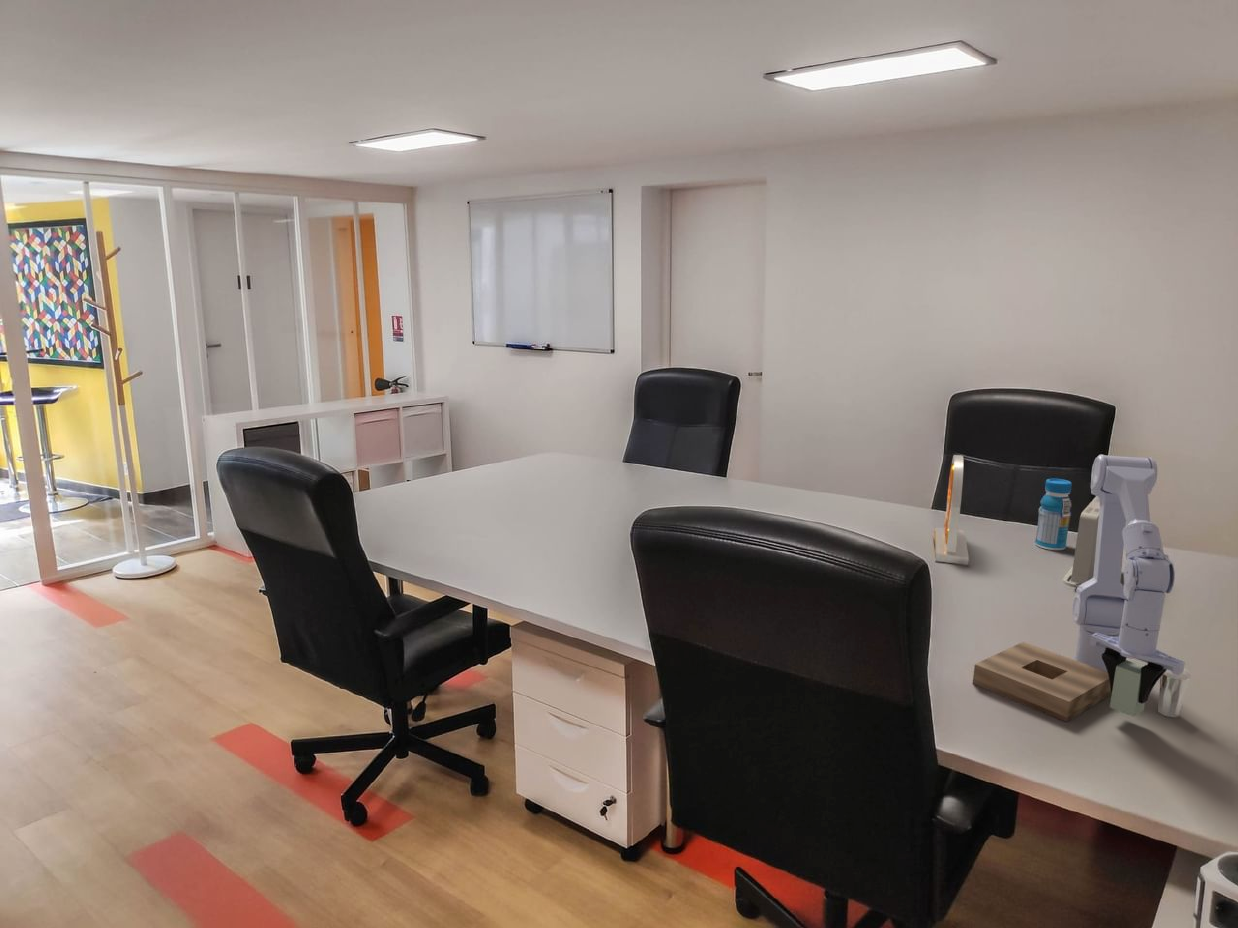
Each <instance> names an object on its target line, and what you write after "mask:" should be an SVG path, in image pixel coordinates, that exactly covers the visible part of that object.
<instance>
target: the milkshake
mask: <svg viewBox="0 0 1238 928" xmlns="http://www.w3.org/2000/svg"><path fill="white" fill-rule="evenodd" d="M1190 678H1191V674H1190V672H1189V671H1188V669H1186V668H1185V667H1184V670H1183V672H1182V673H1181V674H1179V675H1177V674H1174V673H1172V671H1170V670H1166V671H1165V672H1164V674H1163V675H1162V676H1161V677H1160V678H1159V693H1158V705H1157V713H1159V714H1160V715H1161V716H1165V717H1167V718H1171V719H1172V718H1178V717H1179V715H1180V713H1181V708H1182V706H1183V705H1182V704H1183V700H1184V697H1185V693H1186V690H1187V688H1188V684H1189V682H1190Z"/></svg>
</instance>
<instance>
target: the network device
mask: <svg viewBox="0 0 1238 928" xmlns="http://www.w3.org/2000/svg"><path fill="white" fill-rule="evenodd" d="M1099 509H1100V503H1099V497H1097V496H1095V497H1094V498H1093V499H1092V501H1090V502H1089V504H1088V505H1087V506H1086V507H1085V508H1084V509H1083V510H1082V512H1081V514H1080V517H1079V521H1078V522H1079V523H1078V529H1077V537H1076V543H1075V550H1074V556H1073V557H1074V558H1073V563H1072V564H1073V565H1072V566H1071V568H1069V569H1068V572H1067V573H1066V574H1065V575H1064V576H1063V578H1062V583H1063V584H1065V585H1067V586H1069V587H1074V588H1077V587H1078V586H1079V585H1081V584H1083V583H1085V582H1087V581H1088V580H1090V579H1092V578H1093V575H1094V564H1095V553H1096V542H1097V531H1098V520H1099ZM1070 578H1071V579H1070ZM1069 579H1070V581H1069Z"/></svg>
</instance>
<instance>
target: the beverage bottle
mask: <svg viewBox="0 0 1238 928" xmlns="http://www.w3.org/2000/svg"><path fill="white" fill-rule="evenodd" d="M1044 485H1045V487H1044V489H1045V494H1044V495H1043V496H1042V497H1041V500H1040V501H1039V502H1040V505H1041V506H1039V508H1038V518H1037V519H1038V521H1037V528H1036V536H1035V541H1034V543H1035V546H1037V547H1038V548H1041V549H1043V550H1049V551H1064V550H1065V549H1066V547H1067V539H1068V532H1069V527H1070V526H1069V525H1070V521H1071V519H1070V518H1071V516H1072V512H1071V508H1072V506H1073V504H1072V500H1071V497H1070V496H1069V495H1070V494H1071V492H1072V485H1073V484H1072V482H1071V481H1070V480H1066V479H1063V478H1062V479H1061V478H1048V479H1046V480H1045V484H1044Z"/></svg>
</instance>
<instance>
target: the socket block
mask: <svg viewBox="0 0 1238 928" xmlns="http://www.w3.org/2000/svg"><path fill="white" fill-rule="evenodd" d="M972 684H973V685H976V686H978V687H981V688H983V689H986V690H988V691H991V692H993V693H995V694H997V695H1000V696H1003V697H1005V698H1007V699H1010V700H1011V701H1015V702H1016V703H1019V704H1022V705H1024V706H1026V707H1029V708H1032V709H1033V710H1035V711H1039V712H1040V713H1043V714H1046V715H1048V716H1050V717H1053V718H1055V719H1057V720H1060V721H1062V722H1064V723H1067V722H1068V721H1070V720H1073V719H1074V718H1076V717H1077V716H1079V715H1081V714H1082V713H1084V712H1085V711H1087V710H1089V709H1090V708H1093V706H1095V705H1097V704H1099V703H1101V702H1102V701H1104V700H1105V699H1107V698H1109V697H1110V696H1112V692H1111V688H1110V680H1109V676H1108V672H1106V671H1103V670H1100V669H1098V668H1095V667H1092V666H1089V665H1086V664H1084V663H1081V662H1078V661H1075V659H1072V658H1069V657H1066V656H1064V655H1061V654H1058V653H1056V652H1054V651H1053V652H1052V651H1049V650H1046V649H1044V648H1042V647H1038V646H1036V645H1033V644H1030V643H1027V642H1025V641H1022V642H1020V643H1018V644H1014V646H1011V647H1009V648H1007V649H1005V650H1002V651H1001V652H998V653H996V654H994V655H992V656H990V657H987V658H985V659H983V660H980V661H978V662H977V663H974V669H973V676H972Z"/></svg>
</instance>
